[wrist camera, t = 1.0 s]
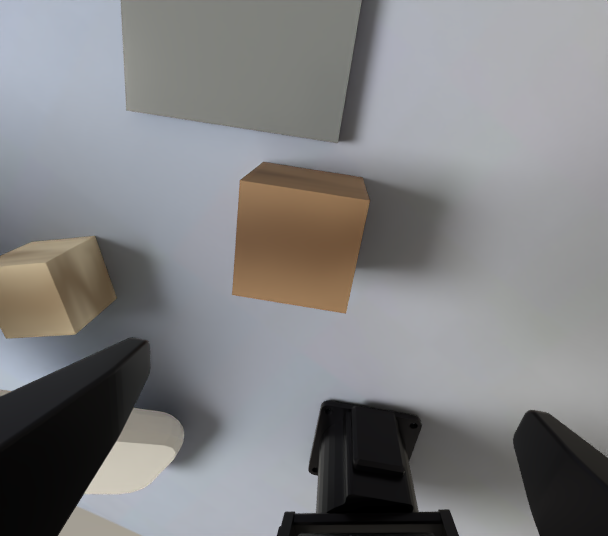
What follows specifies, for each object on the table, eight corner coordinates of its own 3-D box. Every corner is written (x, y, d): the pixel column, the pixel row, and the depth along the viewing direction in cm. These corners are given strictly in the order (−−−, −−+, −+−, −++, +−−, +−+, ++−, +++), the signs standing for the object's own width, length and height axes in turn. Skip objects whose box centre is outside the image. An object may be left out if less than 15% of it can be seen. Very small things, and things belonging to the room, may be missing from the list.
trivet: (337, 141, 18) (337, 143, 17) (134, 110, 18) (126, 110, 18) (372, -70, 15) (374, -79, 14) (125, -105, 15) (115, -115, 14)
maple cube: (117, 297, 23) (75, 334, 19) (58, 301, 23) (5, 338, 20) (95, 235, 21) (45, 262, 18) (32, 241, 22) (-29, 268, 18)
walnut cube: (344, 267, 21) (345, 313, 16) (255, 253, 21) (232, 294, 16) (362, 176, 19) (369, 200, 14) (263, 161, 19) (239, 180, 14)
